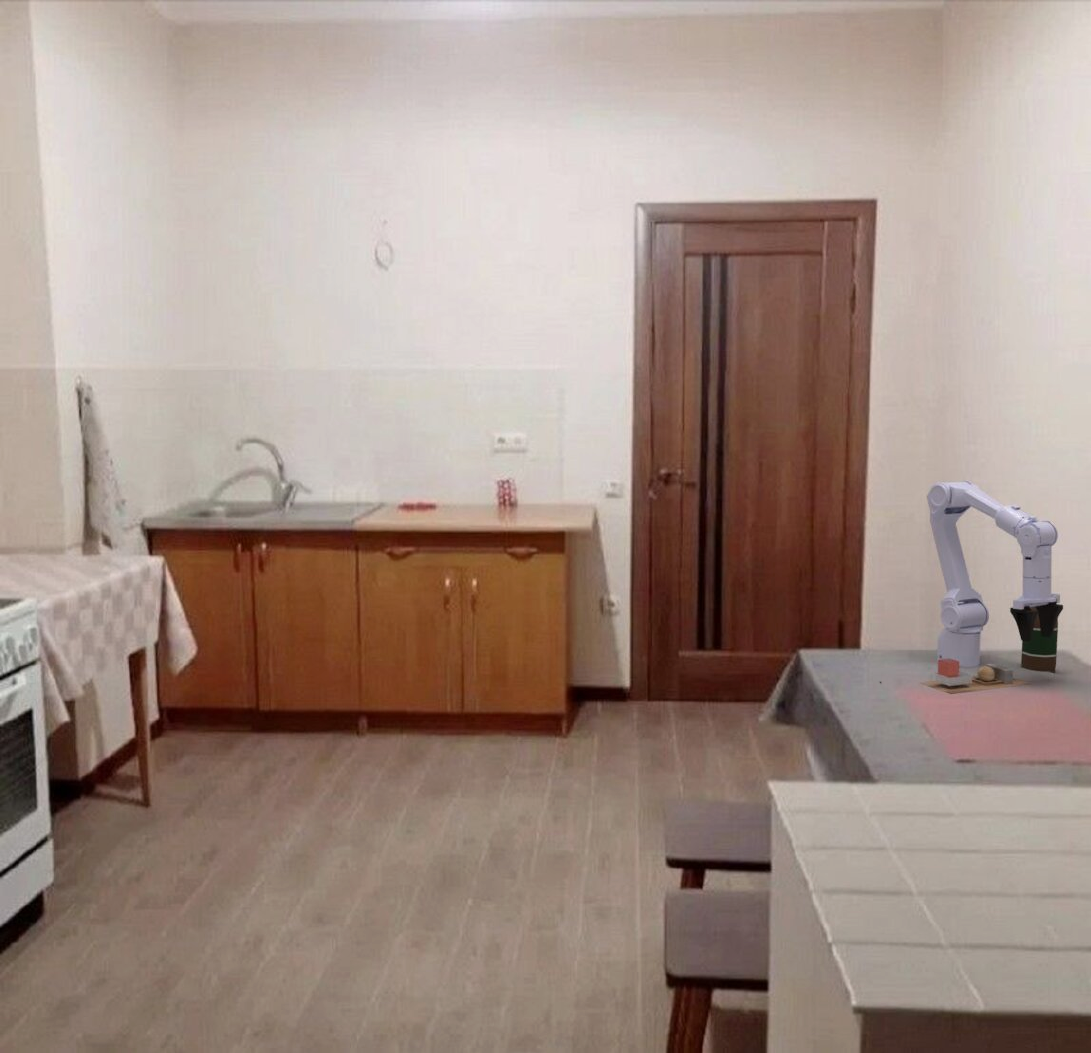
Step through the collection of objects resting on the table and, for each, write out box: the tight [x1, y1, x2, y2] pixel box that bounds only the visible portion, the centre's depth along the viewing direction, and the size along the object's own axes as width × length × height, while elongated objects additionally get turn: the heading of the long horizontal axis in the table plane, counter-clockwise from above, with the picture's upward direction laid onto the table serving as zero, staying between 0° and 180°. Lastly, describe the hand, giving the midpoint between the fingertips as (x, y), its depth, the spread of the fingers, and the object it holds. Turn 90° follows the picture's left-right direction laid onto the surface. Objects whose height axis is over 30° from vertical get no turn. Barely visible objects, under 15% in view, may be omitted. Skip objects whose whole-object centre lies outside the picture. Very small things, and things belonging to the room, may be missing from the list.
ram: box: [934, 658, 973, 686], centre depth 239 cm, size 4×6×5 cm
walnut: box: [977, 665, 995, 682], centre depth 242 cm, size 4×4×4 cm
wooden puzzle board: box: [919, 663, 1031, 695], centre depth 241 cm, size 10×22×4 cm, turn 111°
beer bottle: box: [1020, 573, 1059, 674], centre depth 254 cm, size 8×8×24 cm
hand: (1036, 638), depth 241 cm, fingers open, 7 cm apart
